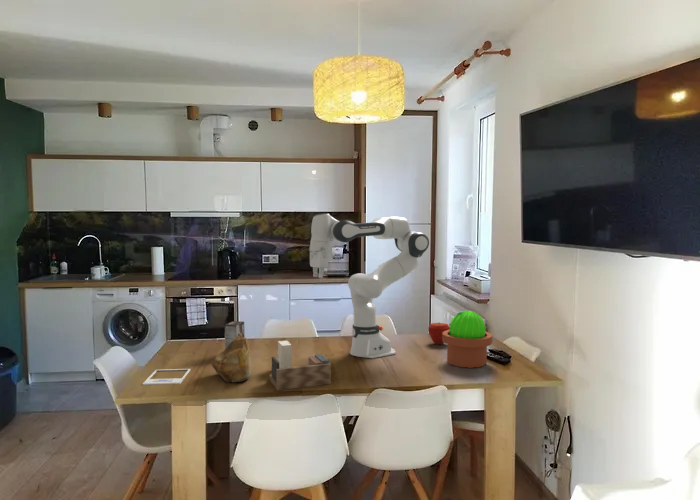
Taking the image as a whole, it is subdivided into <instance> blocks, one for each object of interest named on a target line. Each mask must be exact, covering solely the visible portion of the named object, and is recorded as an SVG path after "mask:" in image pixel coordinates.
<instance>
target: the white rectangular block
mask: <svg viewBox="0 0 700 500" xmlns="http://www.w3.org/2000/svg"><path fill="white" fill-rule="evenodd" d="M292 355H293V354H292V344H291V342H289V341H288V340H278V341H277V361H278V362H279V369H282V368H291V367H293V366H292V363H293V360H292Z"/></svg>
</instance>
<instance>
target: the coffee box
mask: <svg viewBox="0 0 700 500" xmlns="http://www.w3.org/2000/svg"><path fill="white" fill-rule="evenodd" d="M238 336H240V337H241V338H242V337H245V321H237V320H235V321H230V322H228V323H225V324H224V350H225V349H226V348H227V347H228V345H230V343H231V342H232V341H233V340H235V338H236V337H238Z"/></svg>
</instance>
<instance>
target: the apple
mask: <svg viewBox="0 0 700 500" xmlns="http://www.w3.org/2000/svg"><path fill="white" fill-rule="evenodd" d="M427 329H428V334H429V336H430V338H431V342H433V343H434V344H435V345H437V344H442V345H443V344H445V343H444V342H443V341H442V333H443V332H444V331H446V330H450V326H449V324H448V323H443V322H440V321H439V322H432V323H430V324H429V326H428V328H427Z"/></svg>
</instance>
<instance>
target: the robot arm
mask: <svg viewBox="0 0 700 500" xmlns="http://www.w3.org/2000/svg"><path fill="white" fill-rule="evenodd" d="M312 217H313V218H312V221H311V229H310V232H311V238H310V245H309V248H308V251H309V265H310V267H311V268H312V272H313V273H312V274H313V275H312V276H313V277H314V278H319V279H323V277H324V272H325V269H327V268H328V266H329V252H330V241H332V242H335V243H350V242H351V241H353V240H355V239H357V238H362V237H373V238H375V239H378V240H392V239H393V240H394V245H395V247H396V249H397V250H399V251H400V253H399V254H397V255H395V256H394V257H392V258H390V259H388V260H386V261H385V262H382V263H381V264H379V265H378V266H377V268H376V269H374V270H373V271H372V272H371V273H368V274H367V273H361V272H360V273H359V272H358V273H354V274H352V275H350V277H349V279H348V281H347V283H348V284H347V286H348V288H349V291H350V296H351V303H352V308H353V309H352V310H353V312H352V315H353V316H352V317H353V318H352V320H353V322H352V323H353V324H352V328H351V329H352V330H351V335H352V340H351V341H352V342H351V348H350V351H349V354H350V355H351V356H353V357H354V356H355V357H359V358H368V359H375V358H376V359H377V358H380V357H388V356H393V355H396V354H397V353H396V350H395V349H394V348H392V344H391V340H390V339H389V338H388V337H386V336H385V335H384V334H383V333H381V332H382V331H383V330H384V327H383V326H381V325H378V324H377V309H376V306H375V303H374V300H375V299H377V298H379V297H380V296H382V293H383V292H384V291H385V290H386V289H387V288H389V287H390V286H391V285H393V284H394V283H397V282H398V281H400V280H401V279H404V278H405V277H406V276H408V275H409V274H411V273H413V271H415V270H416V269H417V268H418V266H419V260H418V258H421V257H422V256H423V254H424V253H425V252H426V251H427V249H428V248H429V246H430V239H429V238H428V236H427V235H426V234H425V233H423V232H420V231H413V230H411V229H410V227H411V226H410V222H409V220H408V219H407V218H405V217H402V216H382V217H378V218H374V219H373V220H372V222H359V223H357V222H353V221H351V220H348V219H343V220H338V219H336V218H334V217H333V216H332V215H330V213H328V212H327V213H326V212H324V213H318V214H315V215H314V216H312Z"/></svg>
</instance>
